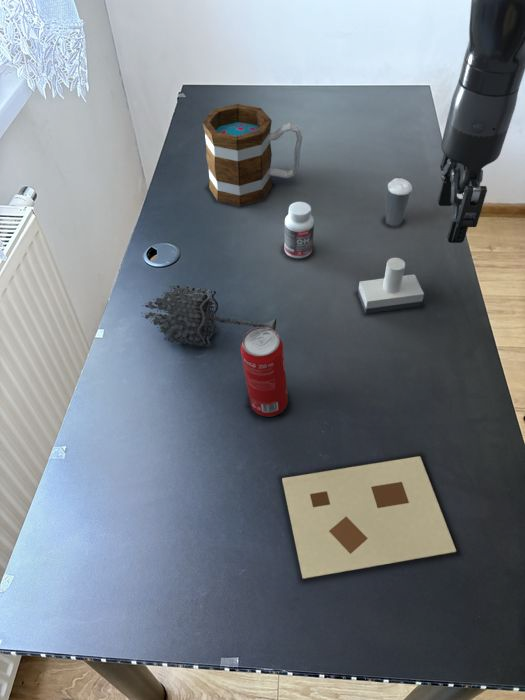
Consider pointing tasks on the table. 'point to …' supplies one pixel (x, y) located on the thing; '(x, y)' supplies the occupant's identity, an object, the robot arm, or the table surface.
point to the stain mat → (365, 517)
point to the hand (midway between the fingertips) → (449, 222)
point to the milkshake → (397, 200)
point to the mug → (243, 153)
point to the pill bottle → (299, 230)
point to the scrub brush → (391, 290)
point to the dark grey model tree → (191, 315)
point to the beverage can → (265, 371)
